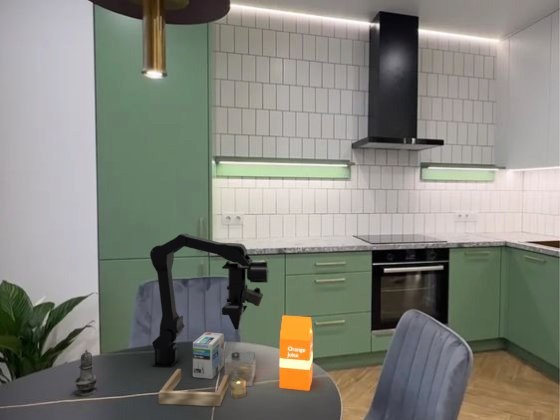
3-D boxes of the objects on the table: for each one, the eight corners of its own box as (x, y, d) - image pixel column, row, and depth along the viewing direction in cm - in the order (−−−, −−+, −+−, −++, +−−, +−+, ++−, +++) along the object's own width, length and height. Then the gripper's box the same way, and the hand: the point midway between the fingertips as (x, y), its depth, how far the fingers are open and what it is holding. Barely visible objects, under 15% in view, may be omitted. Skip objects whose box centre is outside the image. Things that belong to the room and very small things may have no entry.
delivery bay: (158, 403, 101) (158, 392, 101) (177, 378, 116) (177, 368, 116) (219, 406, 100) (219, 394, 100) (230, 380, 115) (230, 370, 115)
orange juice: (284, 376, 118) (284, 311, 118) (312, 378, 116) (313, 313, 116) (279, 387, 111) (279, 319, 110) (309, 391, 109) (309, 321, 109)
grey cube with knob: (224, 385, 112) (224, 358, 112) (229, 373, 120) (230, 348, 120) (252, 386, 111) (252, 359, 111) (256, 374, 119) (256, 349, 119)
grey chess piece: (102, 388, 109) (102, 347, 109) (85, 398, 104) (86, 354, 104) (86, 385, 111) (86, 344, 111) (69, 394, 106) (69, 351, 105)
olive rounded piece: (229, 397, 105) (230, 383, 105) (232, 390, 109) (232, 376, 109) (244, 398, 104) (244, 383, 104) (246, 391, 108) (246, 377, 108)
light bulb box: (212, 379, 115) (212, 344, 115) (191, 377, 117) (191, 342, 117) (224, 365, 126) (224, 332, 126) (205, 363, 127) (205, 331, 127)
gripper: (257, 288, 116) (257, 339, 116) (264, 277, 134) (264, 321, 134) (221, 288, 116) (221, 338, 117) (233, 276, 135) (232, 320, 135)
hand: (236, 329), depth 126 cm, fingers closed
